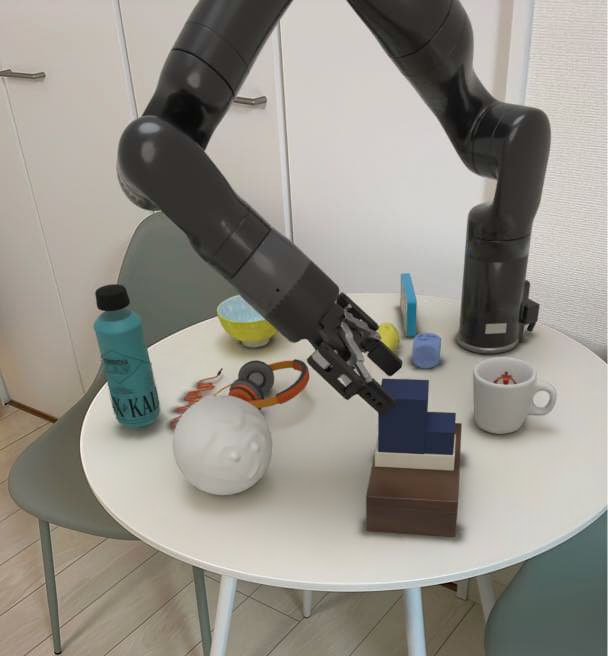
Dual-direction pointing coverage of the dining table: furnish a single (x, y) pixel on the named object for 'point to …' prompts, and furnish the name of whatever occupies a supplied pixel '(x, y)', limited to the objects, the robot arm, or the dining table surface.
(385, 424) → the navy blue block
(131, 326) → the beverage bottle
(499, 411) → the cup
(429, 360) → the decorative dice
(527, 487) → the dining table surface
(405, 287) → the blue rectangular panel
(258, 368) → the headphones
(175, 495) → the dining table surface
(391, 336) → the lemon
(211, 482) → the decorative ball
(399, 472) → the brown platform
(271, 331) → the bowl
